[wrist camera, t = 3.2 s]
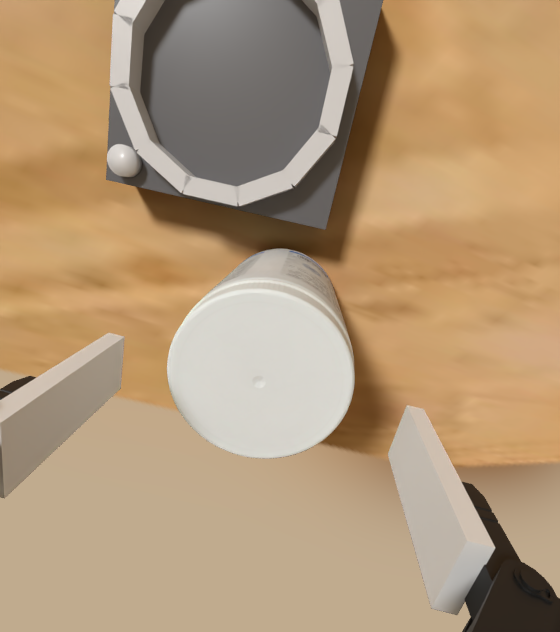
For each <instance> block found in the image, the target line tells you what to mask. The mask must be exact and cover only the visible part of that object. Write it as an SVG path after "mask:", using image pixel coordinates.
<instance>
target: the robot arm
mask: <svg viewBox="0 0 560 632" xmlns="http://www.w3.org/2000/svg"><path fill="white" fill-rule="evenodd" d="M123 351H124V336H120V335H116V334H111V333H107V334H106V335H104V336H103V337H101V338H99V339H98V340H96V341H95V342H93V343H91V344H90V345H88V346H86V347H85V348H83V349H82V350H80V351H78V352H77V353H75V354H74V355H72V356H70V357H69V358H67V359H66V360H64V361H62V362H61V363H59V364H58V365H56V366H54V367H53V368H51V369H50V370H48V371H46V372H45V373H43V374H42V375H40V376H38V377H37V378H36V377H32V376H28V377H25V378H22V379H19V380H16V381H13V382H12V383H10V384H8V385H6V386H5V387H3V388H1V389H0V497H1V498H5V497H6V496H7V495H8V494H9V493H10V492H12V491H13V490H14V489H15V488H16V487H17V486H18V485H19V484H20V483H21V482H22V481H23V480H24V479H25V478H26V477H27V476H28V475H30V474H31V473H32V472H33V471H34V470H35V469H36V468H37V467H38V466H39V465H40V464H41V463H42V462H43V461H44V460H45V459H46V458H47V457H48V456H50V455H51V454H52V453H53V452H54V451H55V450H56V449H57V448H58V447H59V446H60V445H61V444H62V443H63V442H65V441H66V440H67V439H68V438H69V437H70V436H71V435H72V434H73V433H74V432H75V431H76V430H77V429H78V428H79V427H80V426H81V425H82V424H83V423H85V422H86V421H87V420H88V419H89V418H90V417H91V416H92V415H93V414H94V413H95V412H96V411H97V410H98V409H99V408H100V407H101V406H103V404H105V403H106V402H107V401H108V400H109V399H110V398H111V397H112V396H113V395H114V394H115V393H116V392H117V391H118V390H120V389H121V377H122V364H123ZM388 457H389V460H390V464H391V467H392V471H393V474H394V478H395V481H396V485H397V489H398V492H399V496H400V499H401V503H402V506H403V510H404V513H405V517H406V521H407V524H408V528H409V531H410V535H411V538H412V542H413V546H414V549H415V553H416V556H417V560H418V563H419V567H420V570H421V574H422V578H423V581H424V585H425V588H426V592H427V595H428V599H429V602H430V606H431V609H435V610H439V611H443V612H446V613H451V614H455V615H457V614H458V613H459V611H460V609H461V608H462V606H463V604H464V602H466V605H467V607H468V610H469V613H470V615H471V618H470V619H469V621H468V623H467V624H466V626H465V628H464V629H463V631H462V632H560V599H559V598H558V597H557V596H556V594H555V592H554V590H553V588H552V587H551V586H550V584H549V583H548V582H547V581H546V580H545V579H544V577H542V576H541V575H540V574H539V573H538V572H537V571H536V570H534V569H533V568H531V567H529V566H528V565H526V564H525V563H522V562H521V561H520V559H519V557H518V556H517V554H516V552H515V550H514V548H513V547H512V545H511V543H510V541H509V540H508V538H507V536H506V534H505V533H504V531H503V529H502V527H501V526H500V524H498V520H497V519H496V517H495V515H494V513H492V510H491V508H490V506H489V505H488V503H487V501H486V499H485V497H484V496H483V495H482V494H481V493H480V492H479V491H478V490H477V489H476V488H475V487H474V486H473V485H472V484H469V483H465V482H461V480H460V478H459V476H458V474H457V472H456V471H455V469H454V467H453V465H452V463H451V461H450V459H449V457H448V455H447V453H446V451H445V449H444V447H443V445H442V443H441V441H440V440H439V438H438V436H437V434H436V432H435V430H434V428H433V426H432V424H431V422H430V420H429V418H428V416H427V414H426V412H425V411H424V409H421V408H417V407H413V406H409V405H407V406H406V409H405V411H404V414H403V416H402V419H401V422H400V424H399V427H398V429H397V432H396V434H395V437H394V440H393V442H392V445H391V447H390V450H389V453H388Z"/></svg>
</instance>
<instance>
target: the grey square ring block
mask: <svg viewBox="0 0 560 632" xmlns="http://www.w3.org/2000/svg"><path fill="white" fill-rule="evenodd" d="M382 3H383V0H115V6H114V14H113V26H112V47H111V69H110V86H111V88H110V89H111V90H110V110H109V131H108V152H107V173H106V180H110V181H114V182H118V183H123V184H127V185H132V186H136V187H140V188H145V189H149V190H153V191H158V192H162V193H167V194H171V195H175V196H180V197H184V198H189V199H193V200H197V201H202V202H206V203H210V204H215V205H219V206H224V207H228V208H232V209H237V210H241V211H245V212H250V213H254V214H259V215H263V216H267V217H272V218H276V219H280V220H285V221H289V222H294V223H298V224H302V225H307V226H311V227H315V228H320V229H324V230H326V226H327V222H328V218H329V214H330V210H331V206H332V202H333V198H334V194H335V190H336V186H337V182H338V178H339V174H340V170H341V166H342V162H343V158H344V154H345V150H346V146H347V142H348V138H349V134H350V130H351V126H352V122H353V118H354V114H355V110H356V106H357V102H358V98H359V94H360V90H361V86H362V82H363V78H364V74H365V71H366V67H367V63H368V59H369V55H370V51H371V47H372V43H373V39H374V35H375V31H376V27H377V23H378V19H379V15H380V11H381V7H382Z"/></svg>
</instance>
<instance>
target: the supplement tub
mask: <svg viewBox="0 0 560 632" xmlns="http://www.w3.org/2000/svg"><path fill="white" fill-rule="evenodd" d="M167 375H168V383H169V388H170V391H171V395H172V397H173V400H174V402H175V404H176V406H177V408H178V410H179V411H180V413H181V415H182V416H183V417H184V419H185V420H186V421H187V422H188V424H189V425H190V426H191V427H192V428H193V429H194V430H195V431H196V432H197V433H198V434H199V435H201V436H202V437H203V438H205V439H206V440H207V441H209V442H210V443H212V444H214V445H215V446H217V447H219V448H221V449H223V450H226V451H229V452H231V453H234V454H237V455H241V456H246V457H251V458H263V459H265V458H281V457H287V456H291V455H294V454H297V453H300V452H303V451H305V450H308V449H310V448H311V447H313V446H315V445H316V444H318V443H320V442H321V441H323V440H324V439H325V438H327V437H328V436H329V435H330V434H331V433H332V432H333V431H334V430H335V429H336V427H337V426H338V425H339V424H340V422H341V421H342V419H343V418H344V416H345V414H346V412H347V410H348V408H349V405H350V403H351V400H352V396H353V391H354V384H355V372H354V355H353V350H352V345H351V342H350V339H349V335H348V332H347V328H346V325H345V322H344V319H343V316H342V313H341V310H340V307H339V304H338V300H337V297H336V294H335V291H334V288H333V285H332V283H331V281H330V279H329V277H328V275H327V274H326V272H325V271H324V269H323V268H322V267H321V266H320V265H319V264H318V263H317V262H316V261H314V260H313V259H312V258H310V257H309V256H307V255H305V254H303V253H301V252H297V251H294V250H290V249H283V248H277V249H269V250H265V251H262V252H259V253H257V254H255V255H253V256H251V257H249V258H248V259H246V260H245V261H243V262H242V263H241V264H240V265H239V266H238V267H237V268H235V269H234V270H233V271H232V272H231V273H230V274H229V275H228V276H227V277H225V278H224V279H223V280H222V281H221V282H220V283H219V284H218V285H217V286H215V287H214V288H213V289H212V290H211V291H210V292H209V293H208V294H206V295H205V296H204V297H203V298H202V299H201V300H200V301H199V302H198V303H197V304H196V305H195V306H194V307H193V309H192V310H191V311H190V312H189V314H188V315H187V316H186V318H185V320H184V321H183V323H182V324H181V326H180V327H179V329H178V331H177V332H176V334H175V336H174V339H173V341H172V344H171V346H170V351H169V355H168V362H167Z"/></svg>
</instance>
